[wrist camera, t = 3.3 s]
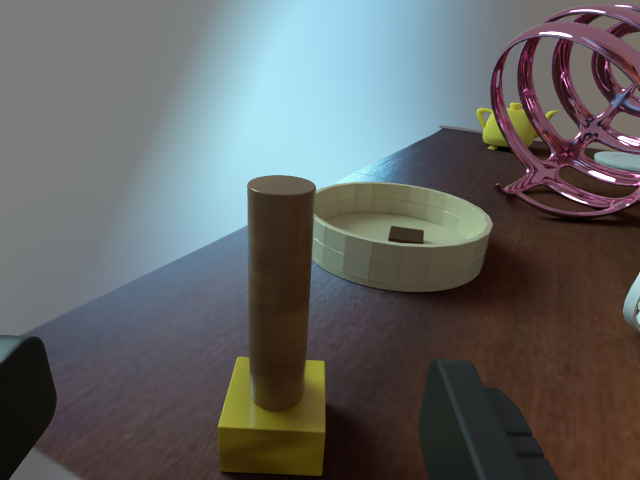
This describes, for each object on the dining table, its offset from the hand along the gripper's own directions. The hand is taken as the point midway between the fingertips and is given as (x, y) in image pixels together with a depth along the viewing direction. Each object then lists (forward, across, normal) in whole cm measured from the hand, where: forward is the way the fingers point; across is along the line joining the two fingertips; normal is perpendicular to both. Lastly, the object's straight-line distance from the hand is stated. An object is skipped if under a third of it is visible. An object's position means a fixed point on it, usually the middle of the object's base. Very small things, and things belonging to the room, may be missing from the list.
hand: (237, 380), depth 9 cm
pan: (+35, -10, +13) cm, 39 cm away
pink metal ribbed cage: (+54, -39, +13) cm, 68 cm away
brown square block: (+35, -11, +12) cm, 39 cm away
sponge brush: (+10, 0, +13) cm, 16 cm away
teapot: (+98, -48, +13) cm, 109 cm away
